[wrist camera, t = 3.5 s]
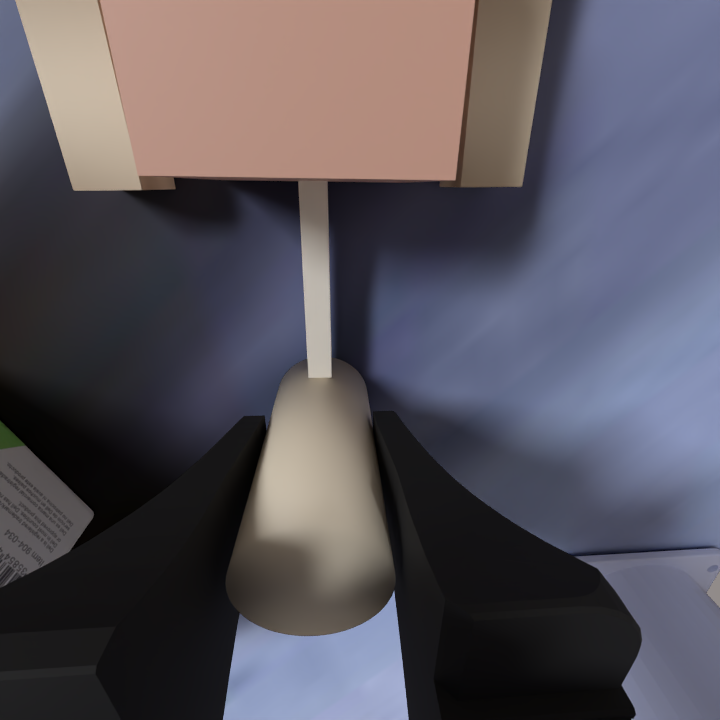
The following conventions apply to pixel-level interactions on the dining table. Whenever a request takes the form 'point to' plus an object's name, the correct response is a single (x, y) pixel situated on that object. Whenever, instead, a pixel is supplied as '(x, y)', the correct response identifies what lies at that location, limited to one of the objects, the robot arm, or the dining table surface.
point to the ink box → (34, 511)
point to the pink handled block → (313, 172)
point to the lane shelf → (118, 172)
